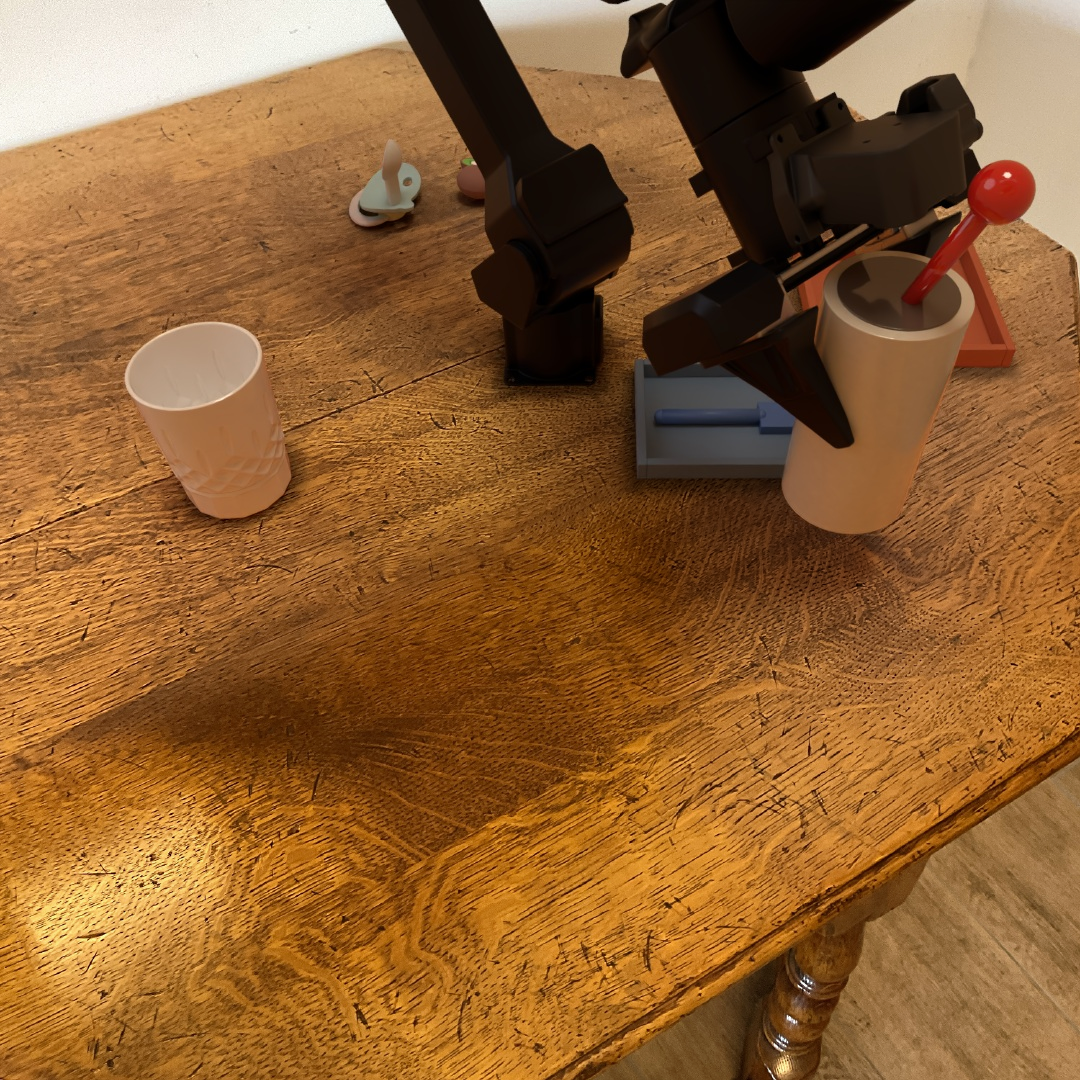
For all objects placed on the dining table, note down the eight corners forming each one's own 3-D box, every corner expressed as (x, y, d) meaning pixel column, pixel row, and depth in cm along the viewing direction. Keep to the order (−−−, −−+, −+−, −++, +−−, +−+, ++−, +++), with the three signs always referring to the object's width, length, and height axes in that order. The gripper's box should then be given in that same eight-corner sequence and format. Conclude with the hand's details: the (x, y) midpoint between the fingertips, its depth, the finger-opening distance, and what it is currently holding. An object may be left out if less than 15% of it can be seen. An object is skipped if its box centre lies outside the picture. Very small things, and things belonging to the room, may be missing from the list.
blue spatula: (654, 434, 66) (654, 423, 65) (653, 409, 67) (653, 398, 67) (809, 434, 65) (811, 423, 64) (804, 409, 67) (807, 397, 66)
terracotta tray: (813, 373, 70) (818, 350, 68) (791, 262, 78) (795, 239, 77) (1007, 371, 69) (1016, 349, 67) (963, 259, 77) (971, 237, 76)
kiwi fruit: (522, 182, 87) (520, 154, 85) (486, 210, 84) (483, 182, 82) (472, 165, 89) (470, 137, 87) (436, 192, 87) (432, 164, 85)
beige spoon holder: (756, 485, 55) (822, 134, 39) (833, 429, 58) (924, 77, 42) (865, 565, 51) (986, 211, 36) (943, 500, 54) (1089, 144, 38)
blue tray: (636, 483, 64) (637, 464, 63) (634, 377, 70) (634, 358, 69) (830, 483, 63) (835, 464, 62) (809, 376, 70) (813, 357, 68)
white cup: (197, 544, 62) (141, 428, 55) (167, 466, 67) (111, 348, 59) (317, 498, 64) (279, 379, 57) (279, 425, 69) (239, 306, 61)
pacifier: (342, 235, 84) (412, 234, 83) (324, 166, 79) (398, 164, 78) (361, 187, 88) (427, 186, 88) (344, 119, 84) (414, 117, 83)
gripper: (709, 112, 35) (894, 493, 38) (1015, -42, 42) (1151, 288, 45) (567, 218, 45) (722, 513, 48) (833, 79, 53) (954, 343, 55)
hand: (890, 413), depth 49 cm, fingers closed on beige spoon holder, 6 cm apart
